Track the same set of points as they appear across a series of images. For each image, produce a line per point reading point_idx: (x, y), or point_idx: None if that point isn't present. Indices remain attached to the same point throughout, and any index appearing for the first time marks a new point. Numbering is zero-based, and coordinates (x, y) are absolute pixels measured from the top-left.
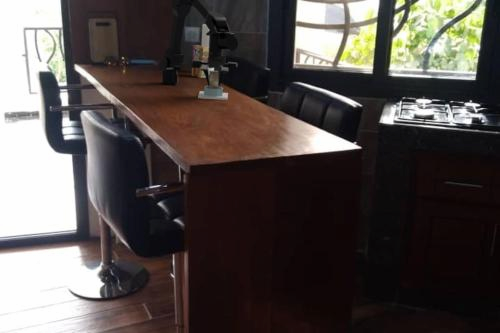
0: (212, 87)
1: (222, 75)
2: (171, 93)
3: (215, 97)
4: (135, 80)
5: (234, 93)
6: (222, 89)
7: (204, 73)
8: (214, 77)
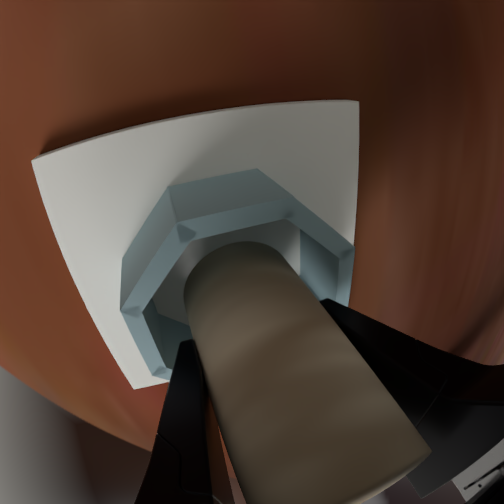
0: (262, 268)
1: (160, 495)
2: (472, 201)
3: (169, 119)
4: (486, 344)
5: (120, 425)
6: (121, 299)
7: (482, 364)
8: (309, 394)
